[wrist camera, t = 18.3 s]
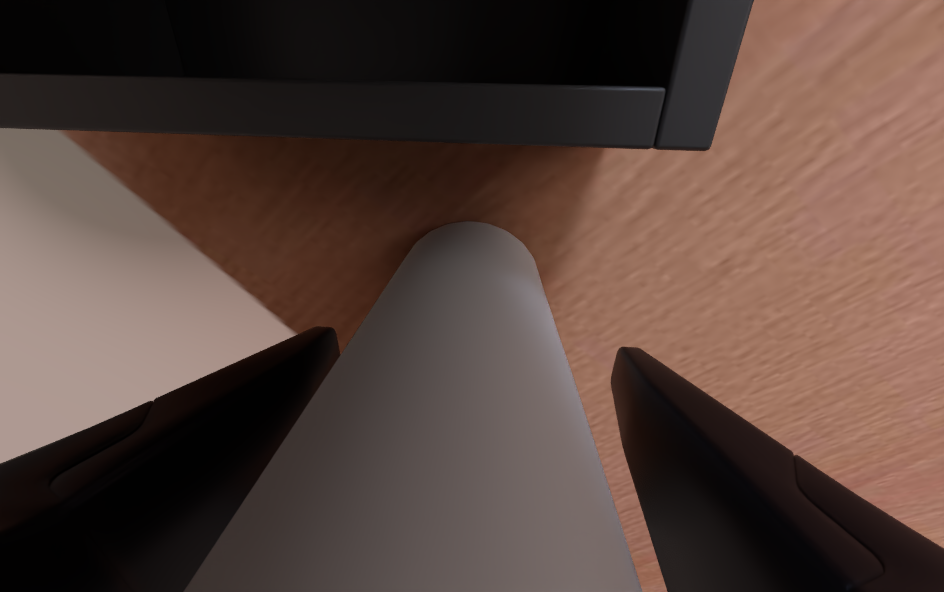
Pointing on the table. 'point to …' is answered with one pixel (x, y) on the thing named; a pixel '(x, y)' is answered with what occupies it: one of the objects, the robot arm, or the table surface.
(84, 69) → the dark grey box
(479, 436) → the beverage can
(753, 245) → the table surface
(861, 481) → the table surface
